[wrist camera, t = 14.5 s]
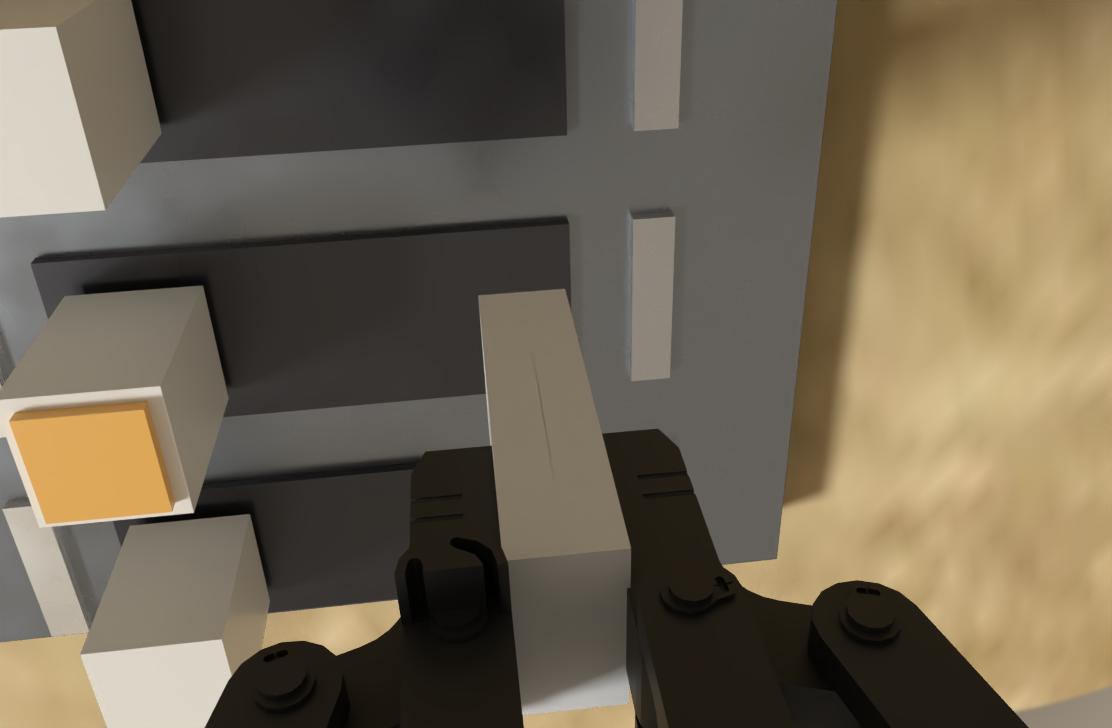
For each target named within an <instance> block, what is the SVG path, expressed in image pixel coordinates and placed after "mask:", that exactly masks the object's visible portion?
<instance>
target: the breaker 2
mask: <svg viewBox="0 0 1112 728" xmlns="http://www.w3.org/2000/svg"><path fill="white" fill-rule="evenodd" d="M269 604H270V599H269V594H268V590H267V586H266V581H265V577H264V573H263V568H262V564H261V560H260V555H259V551H258V547H257V542H256V538H255V534H254V529H253V525H252V521H251V517H250V514H245V515H235V516H225V517H215V518H205V519H194V520H184V521H174V522H164V523H154V524H143V525H133V526H129V529H128V532H127V534H126V537H125V539H124V542H123V545H122V547H121V550H120V552H119V555H118V558H117V560H116V563H115V565H114V568H113V571H112V573H111V576H110V578H109V581H108V584H107V586H106V589H105V591H104V594H103V597H102V599H101V602H100V604H99V607H98V610H97V612H96V615H95V617H94V620H93V623H92V625H91V628H90V630H89V633H88V636H87V638H86V641H85V643H84V646H83V649H82V651H81V654H80V656H81V659H82V661H83V664H84V667H85V669H86V672H87V675H88V677H89V680H90V683H91V685H92V688H93V691H94V693H95V696H96V699H97V701H98V704H99V707H100V709H101V712H102V715H103V717H104V720H105V723H106V726H107V728H205V726H206V724H207V722H208V720H209V718H210V716H211V714H212V712H213V710H214V708H215V706H216V704H217V702H218V700H219V698H220V696H221V694H222V692H223V690H224V688H225V686H226V684H227V682H228V680H229V679H230V678H231V676H232V675H233V674H234V673H235V671H236V670H237V669H238V667H239V666H240V665H241V663H243V662H244V661H246V660H247V659H249V658H250V657H251V656H253V655H254V654H256V653H257V652H258V651H260V650H261V649H262V643H263V638H264V632H265V626H266V621H267V615H268V609H269Z"/></svg>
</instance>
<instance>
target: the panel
mask: <svg viewBox="0 0 1112 728" xmlns="http://www.w3.org/2000/svg"><path fill="white" fill-rule="evenodd" d="M131 2H132V6H133V11H134V15H135V19H136V24H137V28H138V32H139V37H140V41H141V45H142V49H143V54H144V58H145V62H146V67H147V71H148V75H149V80H150V84H151V88H152V93H153V97H154V101H155V106H156V110H157V114H158V119H159V123H160V127H161V132H162V134H161V135H160V136H159V138H158V139H157V140H156V142H155V143H154V145H153V146H152V147H151V149H150V150H149V151H148V153H147V154H146V156H145V157H144V158H143V160H142V161H141V162H140V164H139V165H138V166H137V168H136V169H135V171H134V172H133V173H132V175H131V176H130V177H129V179H128V180H127V181H126V183H125V184H124V186H123V187H122V188H121V190H120V191H119V192H118V194H117V195H116V197H115V198H114V199H113V201H112V202H111V203H110V205H109V206H108V207H107V209H106V210H102V211H87V212H73V213H58V214H44V215H30V216H15V217H1V218H0V389H1V388H2V386H3V385H4V383H5V382H6V380H7V379H8V377H9V376H10V374H11V373H12V372H13V370H14V369H15V367H16V366H17V364H18V363H19V361H20V360H21V359H22V357H23V356H24V354H25V353H26V351H27V350H28V348H29V347H30V345H31V344H32V343H33V341H34V340H35V338H36V337H37V335H38V334H39V332H40V331H41V329H42V328H43V327H44V325H45V324H46V322H47V321H48V319H49V318H50V316H51V315H52V313H53V312H54V311H55V309H56V308H57V306H58V305H59V303H60V302H61V300H62V299H63V298H64V296H73V295H86V294H99V293H112V292H124V291H137V290H150V289H163V288H176V287H189V286H202V285H203V288H204V292H205V297H206V301H207V306H208V310H209V314H210V319H211V323H212V328H213V332H214V336H215V341H216V345H217V349H218V354H219V358H220V363H221V367H222V371H223V376H224V380H225V385H226V389H227V393H228V398H229V399H228V402H227V406H226V409H225V412H224V416H223V419H222V422H221V425H220V429H219V432H218V435H217V439H216V442H215V445H214V449H213V452H212V455H211V458H210V462H209V465H208V468H207V472H206V475H205V478H204V482H203V485H202V488H201V491H200V495H199V498H198V501H197V505H196V508H195V511H194V513H188V514H177V515H167V516H157V517H147V518H136V519H126V520H116V521H105V522H95V523H85V524H75V525H64V526H54V527H44V528H39V525H38V522H37V520H36V517H35V514H34V512H33V509H32V506H31V503H30V501H29V498H28V495H27V493H26V490H25V487H24V484H23V482H22V479H21V476H20V474H19V471H18V468H17V465H16V463H15V460H14V457H13V455H12V452H11V449H10V446H9V444H8V441H7V438H6V436H5V433H4V430H3V427H2V425H1V422H0V642H7V641H17V640H26V639H35V638H44V637H54V636H63V635H72V634H82V633H89V630H90V628H91V625H92V623H93V620H94V617H95V615H96V612H97V610H98V607H99V604H100V602H101V599H102V597H103V594H104V591H105V589H106V586H107V584H108V581H109V578H110V576H111V573H112V571H113V568H114V565H115V563H116V560H117V558H118V555H119V552H120V550H121V547H122V545H123V542H124V539H125V537H126V534H127V532H128V529H129V526H133V525H143V524H154V523H164V522H174V521H184V520H194V519H205V518H215V517H225V516H235V515H245V514H250V517H251V521H252V525H253V529H254V534H255V538H256V542H257V547H258V551H259V555H260V560H261V564H262V568H263V573H264V577H265V581H266V586H267V590H268V594H269V599H270V604H269V609H268V613H277V612H287V611H296V610H305V609H315V608H324V607H333V606H343V605H352V604H361V603H371V602H380V601H389V600H398V596H397V590H396V584H395V577H394V573H395V570H396V566H397V563H398V560H399V558H400V557H401V556H402V555H403V554H404V553H405V552H406V551H407V549H408V548H409V545H410V504H411V499H410V497H411V473H412V472H413V470H414V469H415V467H416V466H417V464H418V462H419V461H420V459H421V458H422V456H423V455H424V453H425V452H426V451H437V450H448V449H459V448H470V447H482V446H490V435H489V424H488V411H487V399H486V386H485V374H484V361H483V349H482V336H481V324H480V311H479V299H478V295H491V294H504V293H516V292H529V291H542V290H555V289H565V291H566V294H567V298H568V302H569V306H570V310H571V314H572V318H573V322H574V326H575V330H576V334H577V338H578V342H579V346H580V349H581V353H582V357H583V361H584V365H585V369H586V373H587V377H588V381H589V385H590V389H591V393H592V397H593V401H594V405H595V408H596V412H597V416H598V420H599V424H600V428H601V432H602V433H613V432H624V431H635V430H647V429H659V430H660V431H661V432H663V433H664V434H665V435H666V436H667V437H668V438H669V439H670V440H671V441H672V442H673V443H674V444H676V445H677V446H678V447H679V449H680V452H681V455H682V458H683V460H684V463H685V466H686V469H687V474H688V475H689V477H690V480H691V483H692V485H693V488H694V494H696V497H697V499H698V502H699V505H700V508H701V511H702V513H703V516H704V519H705V522H706V524H707V527H708V530H709V533H710V536H711V538H712V541H713V544H714V547H715V550H716V552H717V555H718V558H719V561H720V563H721V564H722V565H725V564H734V563H743V562H753V561H762V560H771V559H777V552H778V543H779V534H780V525H781V515H782V506H783V497H784V488H785V479H786V469H787V460H788V451H789V442H790V432H791V423H792V414H793V405H794V395H795V386H796V377H797V368H798V359H799V349H800V340H801V331H802V322H803V312H804V303H805V294H806V285H807V276H808V266H809V257H810V248H811V239H812V229H813V220H814V211H815V202H816V192H817V183H818V174H819V165H820V156H821V146H822V137H823V128H824V119H825V109H826V100H827V91H828V82H829V73H830V63H831V54H832V45H833V36H834V26H835V17H836V8H837V0H131Z"/></svg>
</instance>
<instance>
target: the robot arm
mask: <svg viewBox="0 0 1112 728" xmlns="http://www.w3.org/2000/svg"><path fill="white" fill-rule="evenodd" d="M478 299H479V311H480V324H481V336H482V349H483V361H484V374H485V386H486V399H487V411H488V424H489V435H490V446H482V447H470V448H459V449H448V450H437V451H426V452H425V453H424V455H423V456H422V458H421V459H420V461H419V462H418V464H417V466H416V467H415V469H414V470H413V472H412V473H411V497H410V499H411V504H410V545H409V548H408V549H407V551H406V552H405V553H404V554H403V555H402V556H401V557H400V558H399V560H398V563H397V566H396V570H395V573H394V577H395V584H396V590H397V596H398V603H399V609H400V615H401V617H400V619H399V620H398V621H397V622H396V623H395V624H394V625H393V627H392V628H391V629H390V630H389V631H387V632H386V633H384V634H383V635H382V636H380V637H379V638H378V639H376V640H374V641H372V642H370V643H368V644H366V645H364V646H362V647H359V648H356V649H354V650H351V651H348V652H346V653H343V654H340V655H338V656H335V655H334V654H333V653H332V652H330V651H329V650H328V649H327V648H325V647H324V646H322V645H318V644H314V643H310V642H307V641H294V642H282V643H279V644H276V645H273V646H271V647H268V648H265V649H262V650H260V651H258V652H257V653H256V654H254V655H253V656H251V657H250V658H249V659H247V660H246V661H244V662H243V663H241V665H240V666H239V667H238V669H237V670H236V671H235V673H234V674H233V675H232V676H231V678H230V679H229V680H228V682H227V684H226V686H225V688H224V690H223V692H222V694H221V696H220V698H219V700H218V702H217V704H216V706H215V708H214V710H213V712H212V714H211V716H210V718H209V720H208V722H207V724H206V726H205V728H524V726H523V716H522V715H531V714H540V713H549V712H558V711H567V710H576V709H585V708H594V707H603V706H612V705H621V704H629V685H630V690H631V694H632V699H633V704H634V708H635V728H1028V727H1027V725H1026V724H1025V723H1024V722H1023V721H1022V720H1021V719H1020V718H1019V717H1018V716H1017V715H1016V713H1015V712H1014V711H1013V710H1012V709H1011V708H1010V707H1009V706H1008V705H1007V704H1006V703H1005V701H1004V700H1003V699H1002V698H1001V697H1000V696H999V695H998V694H997V693H996V692H995V691H994V689H993V688H992V687H991V686H990V685H989V684H988V683H987V682H986V681H985V680H984V679H983V677H982V676H981V675H980V674H979V673H978V672H977V671H976V670H975V669H974V668H973V667H972V666H971V664H970V663H969V662H968V661H967V660H966V659H965V658H964V657H963V656H962V655H961V654H960V652H959V651H958V650H957V649H956V648H955V647H954V646H953V645H952V644H951V643H950V642H949V640H948V639H947V638H946V637H945V636H944V635H943V634H942V633H941V632H940V631H939V630H938V629H937V627H936V626H935V625H934V624H933V623H932V622H931V621H930V620H929V619H928V618H927V617H926V615H925V614H924V613H923V612H922V611H921V610H920V609H919V608H918V607H917V606H916V605H915V604H914V603H913V602H911V601H910V600H909V599H908V598H906V597H905V596H904V595H903V594H901V593H900V592H898V591H896V590H893V589H891V588H888V587H886V586H884V585H881V584H879V583H872V582H865V581H858V580H857V581H849V582H842V583H837V584H835V585H833V586H831V587H829V588H827V589H825V590H823V591H822V592H821V593H820V595H819V596H818V598H817V599H816V600H815V602H814V603H813V606H811V605H805V604H798V603H791V602H785V601H779V600H774V599H770V598H766V597H762V596H760V595H758V594H755V593H753V592H751V591H748V590H747V589H745V588H744V587H742V586H741V584H740V583H739V581H738V580H737V578H736V577H735V575H734V574H732V573H731V572H729V571H728V570H726V569H725V568H724V567H723V566H722V564H721V563H720V561H719V558H718V555H717V552H716V550H715V547H714V544H713V541H712V538H711V536H710V533H709V530H708V527H707V524H706V522H705V519H704V516H703V513H702V511H701V508H700V505H699V502H698V499H697V497H696V494H694V488H693V485H692V483H691V480H690V477H689V475H688V474H687V469H686V466H685V463H684V460H683V458H682V455H681V452H680V449H679V447H678V446H677V445H676V444H674V443H673V442H672V441H671V440H670V439H669V438H668V437H667V436H666V435H665V434H664V433H663V432H661V431H660V430H659V429H647V430H635V431H624V432H613V433H602V432H601V428H600V424H599V420H598V416H597V412H596V408H595V405H594V401H593V397H592V393H591V389H590V385H589V381H588V377H587V373H586V369H585V365H584V361H583V357H582V353H581V349H580V346H579V342H578V338H577V334H576V330H575V326H574V322H573V318H572V314H571V310H570V306H569V302H568V298H567V294H566V291H565V289H555V290H542V291H529V292H516V293H504V294H491V295H478Z"/></svg>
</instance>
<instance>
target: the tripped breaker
mask: <svg viewBox="0 0 1112 728" xmlns="http://www.w3.org/2000/svg"><path fill="white" fill-rule="evenodd" d="M228 399H229V398H228V393H227V389H226V385H225V380H224V376H223V371H222V367H221V363H220V358H219V354H218V349H217V345H216V341H215V336H214V332H213V328H212V323H211V319H210V314H209V310H208V306H207V301H206V297H205V292H204V288H203V285H202V286H189V287H176V288H163V289H150V290H137V291H124V292H112V293H99V294H86V295H73V296H64V298H63V299H62V300H61V302H60V303H59V305H58V306H57V308H56V309H55V311H54V312H53V313H52V315H51V316H50V318H49V319H48V321H47V322H46V324H45V325H44V327H43V328H42V329H41V331H40V332H39V334H38V335H37V337H36V338H35V340H34V341H33V343H32V344H31V345H30V347H29V348H28V350H27V351H26V353H25V354H24V356H23V357H22V359H21V360H20V361H19V363H18V364H17V366H16V367H15V369H14V370H13V372H12V373H11V374H10V376H9V377H8V379H7V380H6V382H5V383H4V385H3V386H2V388H1V389H0V422H1V425H2V427H3V430H4V433H5V436H6V438H7V441H8V444H9V446H10V449H11V452H12V455H13V457H14V460H15V463H16V465H17V468H18V471H19V474H20V476H21V479H22V482H23V484H24V487H25V490H26V493H27V495H28V498H29V501H30V503H31V506H32V509H33V512H34V514H35V517H36V520H37V522H38V525H39V528H44V527H54V526H64V525H75V524H85V523H95V522H105V521H116V520H126V519H136V518H147V517H157V516H167V515H177V514H188V513H194V511H195V508H196V505H197V501H198V498H199V495H200V491H201V488H202V485H203V482H204V478H205V475H206V472H207V468H208V465H209V462H210V458H211V455H212V452H213V449H214V445H215V442H216V439H217V435H218V432H219V429H220V425H221V422H222V419H223V416H224V412H225V409H226V406H227V402H228Z"/></svg>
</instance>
